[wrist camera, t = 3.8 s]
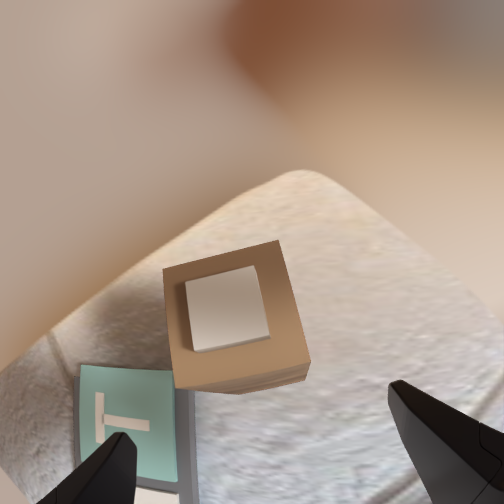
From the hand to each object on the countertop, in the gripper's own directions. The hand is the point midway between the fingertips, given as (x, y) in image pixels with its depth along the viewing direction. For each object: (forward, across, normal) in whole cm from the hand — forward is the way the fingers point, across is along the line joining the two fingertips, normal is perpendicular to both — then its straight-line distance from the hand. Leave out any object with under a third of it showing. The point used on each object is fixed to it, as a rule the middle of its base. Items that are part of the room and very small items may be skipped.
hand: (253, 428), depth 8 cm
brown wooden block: (+10, 0, +5) cm, 11 cm away
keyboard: (+2, +12, +14) cm, 18 cm away
